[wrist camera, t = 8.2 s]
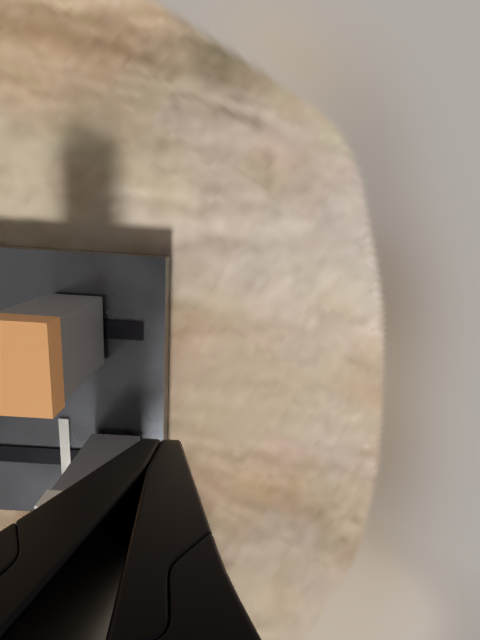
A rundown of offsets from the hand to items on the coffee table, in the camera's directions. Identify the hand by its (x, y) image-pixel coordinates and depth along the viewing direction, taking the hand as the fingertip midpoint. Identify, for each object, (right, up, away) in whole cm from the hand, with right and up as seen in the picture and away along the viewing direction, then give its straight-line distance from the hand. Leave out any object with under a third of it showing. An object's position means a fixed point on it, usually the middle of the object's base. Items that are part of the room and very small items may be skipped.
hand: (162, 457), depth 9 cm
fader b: (-6, +3, +9) cm, 11 cm away
